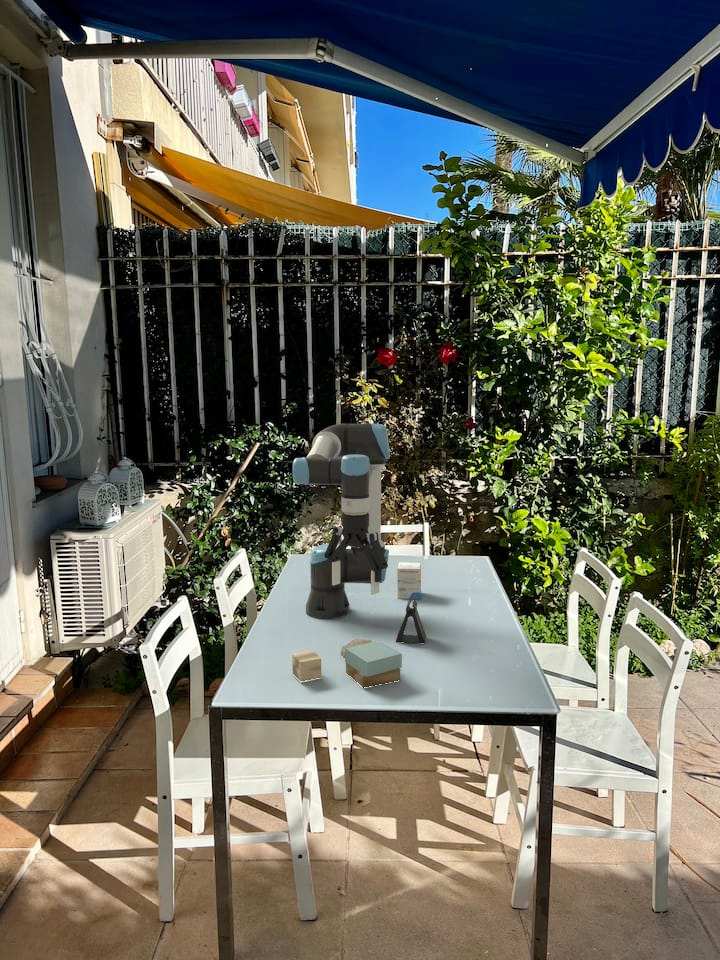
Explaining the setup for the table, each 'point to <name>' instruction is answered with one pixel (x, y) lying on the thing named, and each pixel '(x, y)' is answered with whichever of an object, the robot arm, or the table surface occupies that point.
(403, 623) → the phone stand
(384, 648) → the tower top
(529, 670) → the table surface
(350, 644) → the stone
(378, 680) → the tower base
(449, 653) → the table surface
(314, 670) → the oak block
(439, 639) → the table surface
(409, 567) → the ink box
